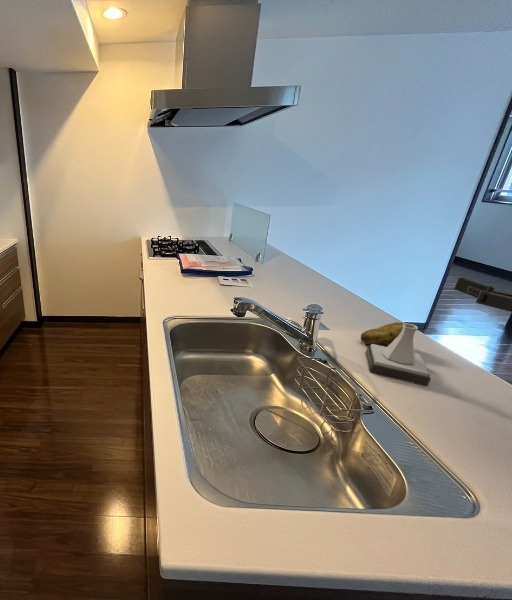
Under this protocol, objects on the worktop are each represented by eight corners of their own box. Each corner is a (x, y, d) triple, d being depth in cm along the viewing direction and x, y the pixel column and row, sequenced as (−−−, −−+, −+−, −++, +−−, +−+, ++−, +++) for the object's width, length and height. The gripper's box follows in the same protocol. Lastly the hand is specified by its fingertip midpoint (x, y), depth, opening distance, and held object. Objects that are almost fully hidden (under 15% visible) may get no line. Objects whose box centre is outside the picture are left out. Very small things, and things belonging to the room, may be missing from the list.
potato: (355, 334, 108) (362, 313, 105) (404, 343, 102) (413, 321, 99) (359, 346, 101) (367, 323, 98) (412, 356, 96) (421, 333, 93)
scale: (419, 364, 92) (423, 353, 91) (430, 387, 83) (435, 376, 81) (365, 352, 98) (368, 342, 97) (369, 372, 89) (373, 361, 87)
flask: (411, 354, 90) (424, 323, 86) (418, 367, 85) (432, 334, 81) (379, 348, 94) (390, 317, 90) (383, 360, 88) (395, 328, 84)
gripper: (538, 349, 52) (425, 299, 72) (699, 348, 51) (540, 298, 71) (563, 308, 49) (438, 267, 69) (734, 306, 49) (558, 265, 68)
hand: (490, 282), depth 70 cm, fingers open, 13 cm apart
